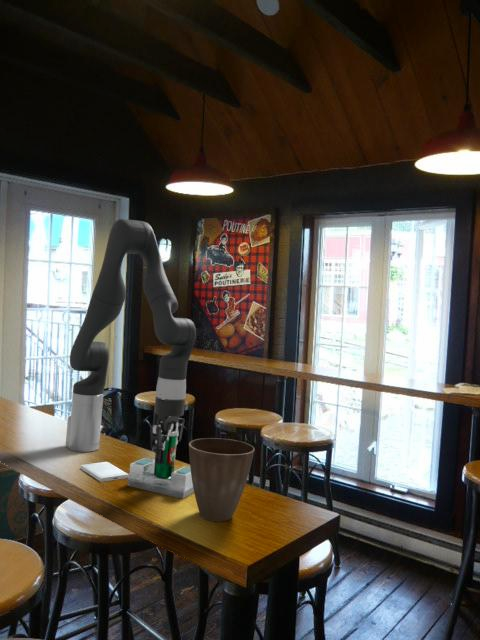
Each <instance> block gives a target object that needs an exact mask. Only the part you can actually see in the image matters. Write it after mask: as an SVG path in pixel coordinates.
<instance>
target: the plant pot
mask: <svg viewBox="0 0 480 640" xmlns="http://www.w3.org/2000/svg"><path fill="white" fill-rule="evenodd" d="M188 452H189V453H188V456H189V467H190V469H191V476H192V483H193V489H194V492H193V494H194V498H195V502H196V505H197V509H198V513H199V515H200V517H201V518H202V519H205V520H207V521H211V522H226V521H228V520H231V519H232V518H233V516H234V515H235V512H236V510H237V508H238V506H239V503H240V500H241V498H242V495H243V493H244V490H245V488H246V484H247V480H248V478H249V475H250V470H251V467H252V464H253V463H252V461H253V457H254V452H255V447H254V446H253V445H251V444H249V443H247V442H244V441H241V440H235V439H229V438H221V437H220V438H219V437H217V438H216V437H207V438H205V437H204V438H197V439H193V440H191V441H190V442H189V443H188Z"/></svg>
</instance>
